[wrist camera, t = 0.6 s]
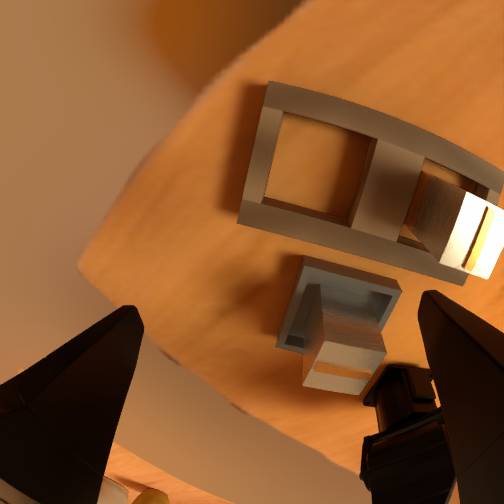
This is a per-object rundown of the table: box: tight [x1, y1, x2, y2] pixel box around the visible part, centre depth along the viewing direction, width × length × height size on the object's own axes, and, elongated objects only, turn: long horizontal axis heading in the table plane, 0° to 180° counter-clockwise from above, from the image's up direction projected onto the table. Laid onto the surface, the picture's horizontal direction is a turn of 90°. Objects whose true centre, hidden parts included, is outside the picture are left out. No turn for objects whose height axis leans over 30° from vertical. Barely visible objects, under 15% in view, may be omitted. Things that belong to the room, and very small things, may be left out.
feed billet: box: [302, 284, 387, 395], centre depth 21 cm, size 4×4×7 cm
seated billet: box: [404, 171, 504, 280], centre depth 17 cm, size 4×4×7 cm
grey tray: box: [276, 255, 402, 353], centre depth 24 cm, size 8×8×2 cm
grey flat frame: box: [237, 81, 504, 286], centre depth 19 cm, size 10×19×2 cm, turn 78°
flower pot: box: [132, 488, 170, 504], centre depth 51 cm, size 10×10×7 cm
